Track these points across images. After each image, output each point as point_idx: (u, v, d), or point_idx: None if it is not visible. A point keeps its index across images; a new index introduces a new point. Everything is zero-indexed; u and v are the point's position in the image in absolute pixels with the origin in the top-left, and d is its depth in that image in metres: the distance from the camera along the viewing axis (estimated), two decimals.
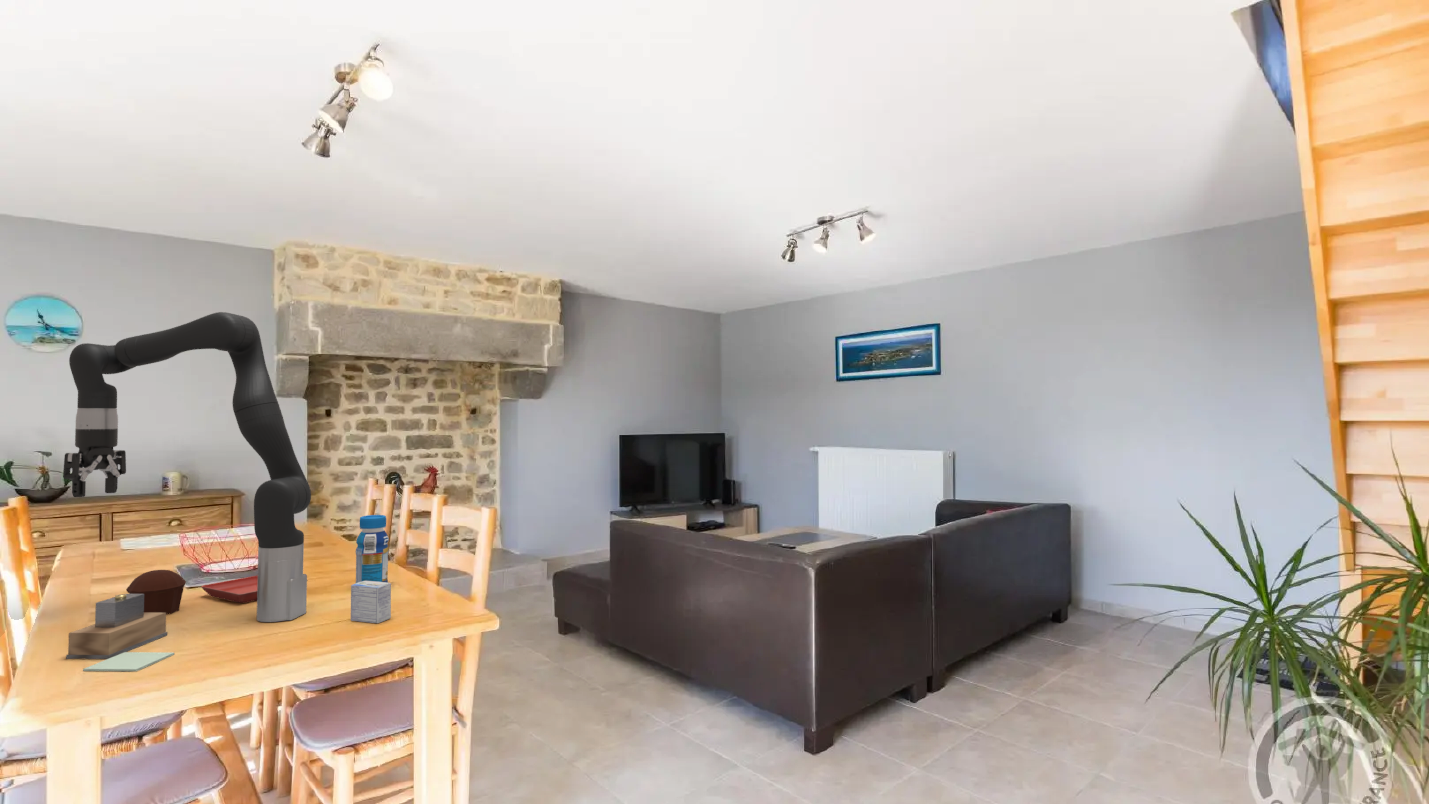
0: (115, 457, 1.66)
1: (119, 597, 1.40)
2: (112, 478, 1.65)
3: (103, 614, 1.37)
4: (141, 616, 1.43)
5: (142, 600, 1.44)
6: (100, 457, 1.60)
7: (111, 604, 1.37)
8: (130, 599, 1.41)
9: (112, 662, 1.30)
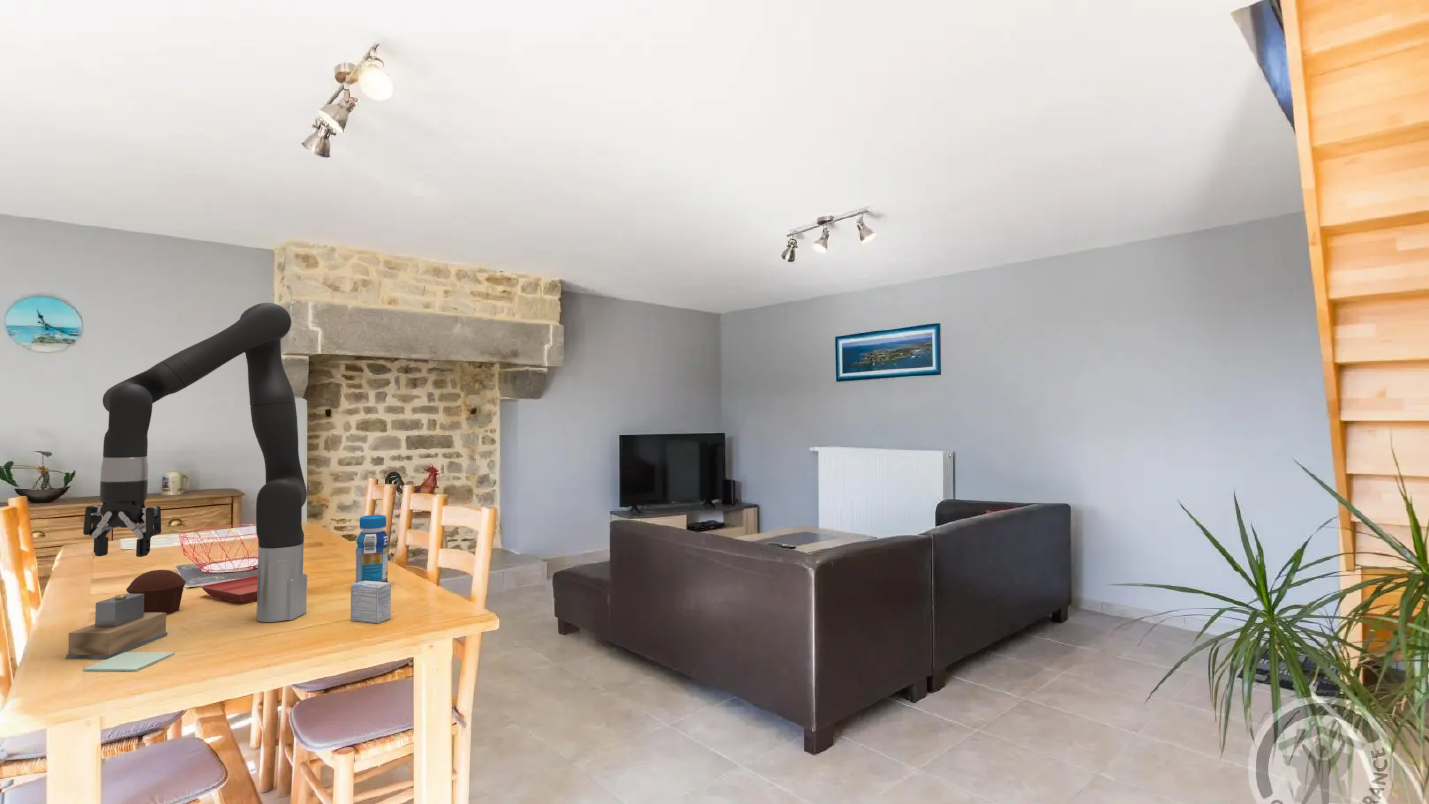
0: (100, 513, 1.41)
1: (119, 597, 1.40)
2: (105, 537, 1.42)
3: (103, 614, 1.37)
4: (141, 616, 1.43)
5: (142, 600, 1.44)
6: None
7: (111, 604, 1.37)
8: (130, 599, 1.41)
9: (112, 662, 1.30)
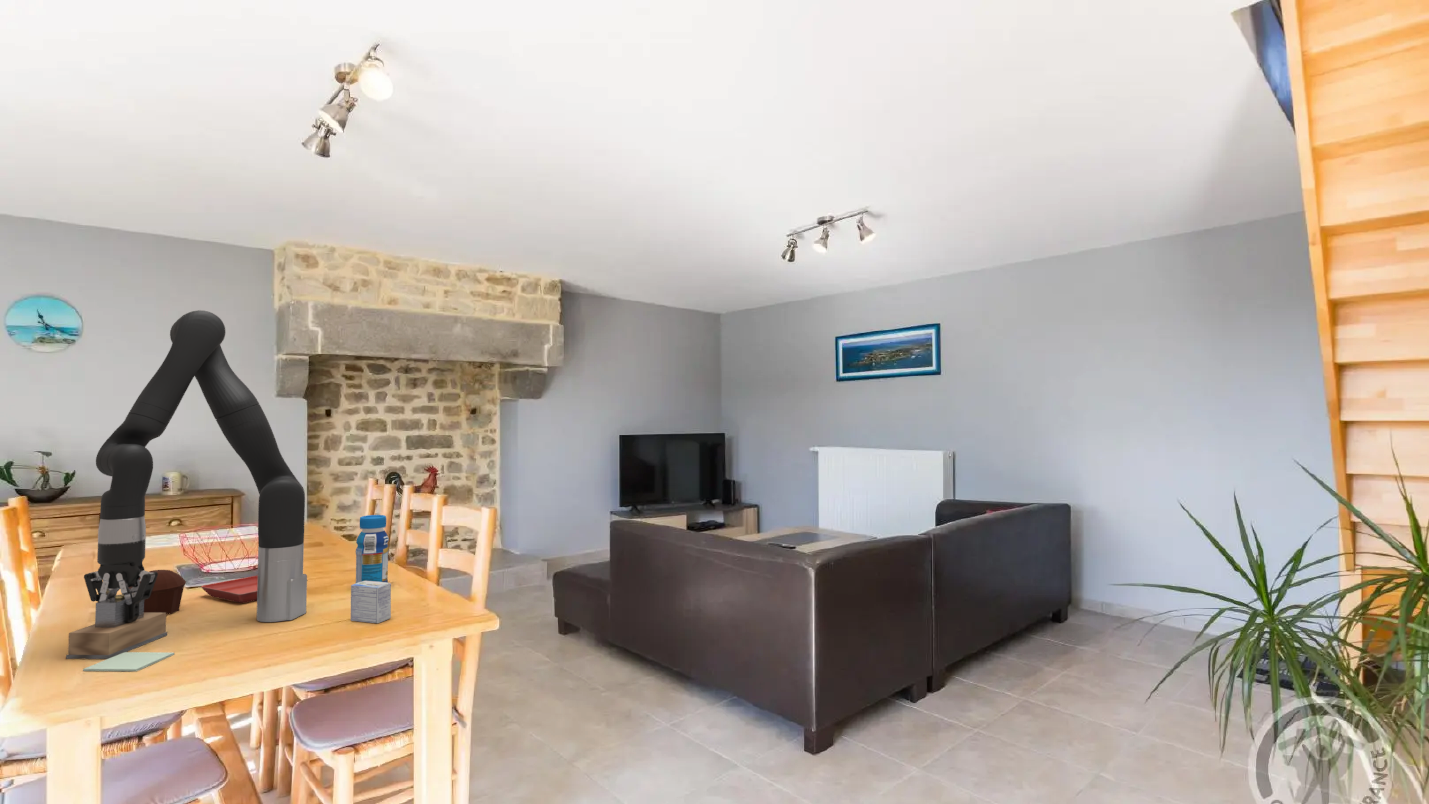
0: (100, 577, 1.41)
1: (119, 597, 1.40)
2: None
3: (103, 614, 1.37)
4: (141, 616, 1.43)
5: (142, 600, 1.44)
6: None
7: (111, 604, 1.37)
8: None
9: (112, 662, 1.30)
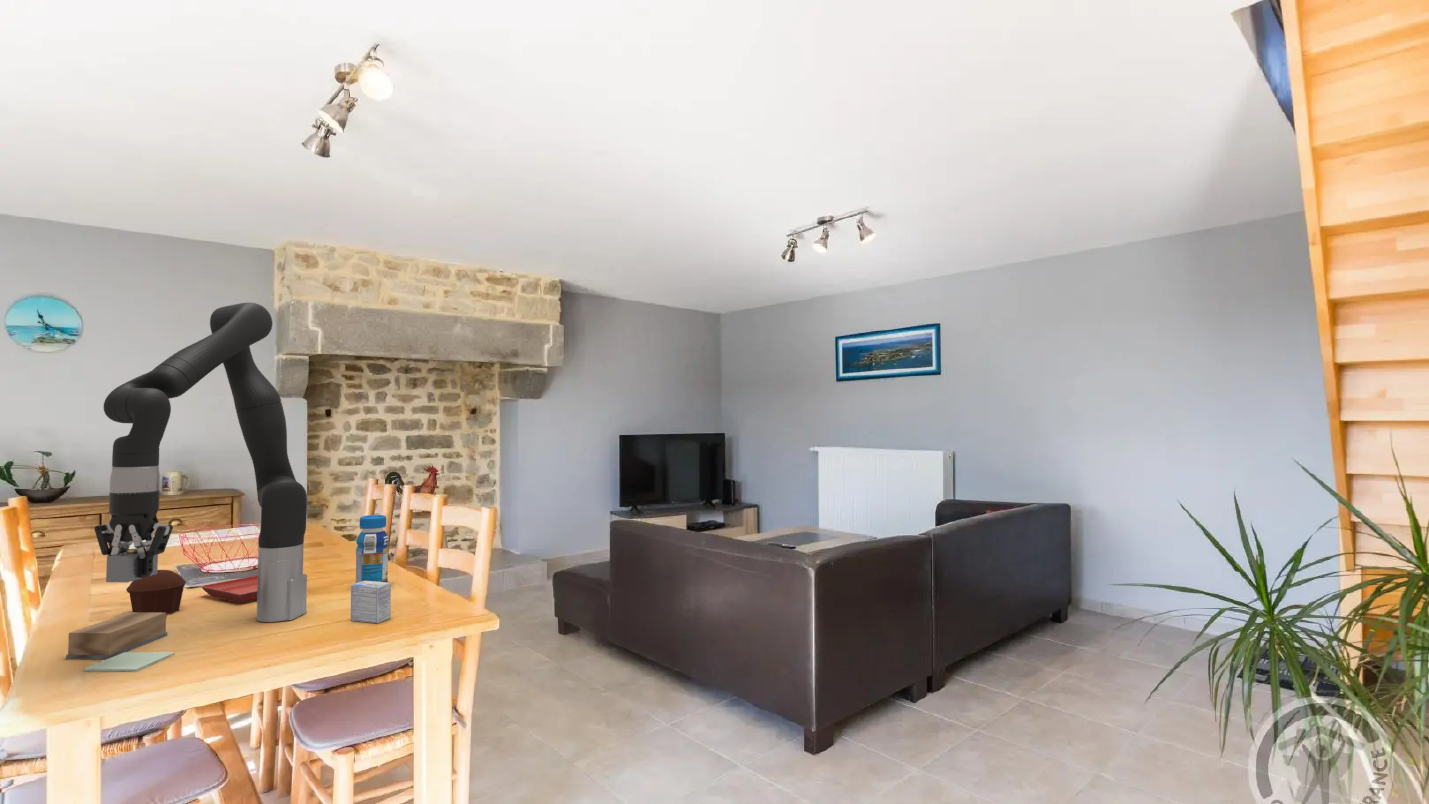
0: (112, 530, 1.32)
1: (132, 551, 1.31)
2: None
3: (115, 568, 1.28)
4: (155, 572, 1.35)
5: (156, 555, 1.35)
6: None
7: (123, 557, 1.28)
8: None
9: (112, 662, 1.30)
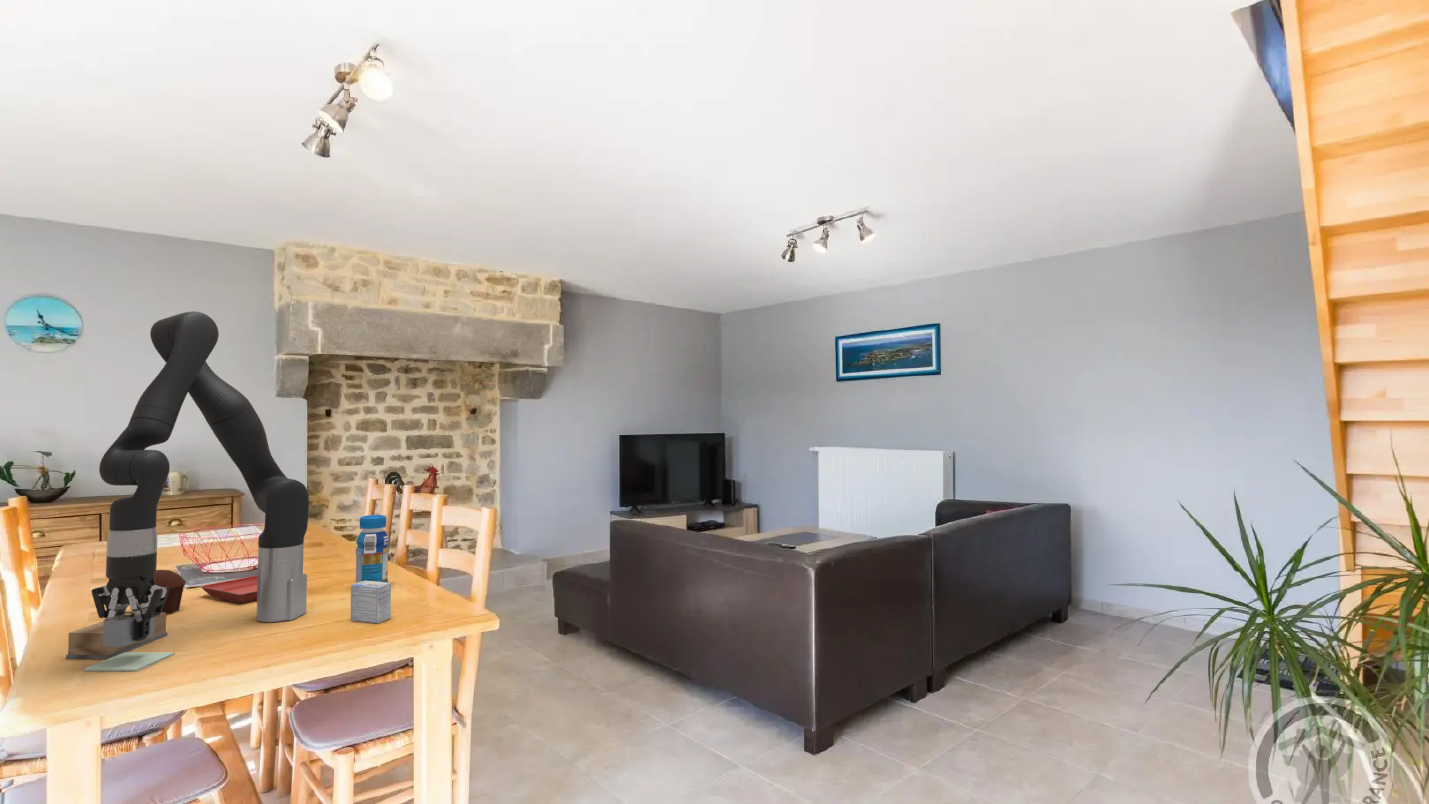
0: (109, 592, 1.32)
1: (128, 614, 1.31)
2: None
3: (112, 632, 1.28)
4: (151, 634, 1.34)
5: (153, 617, 1.35)
6: None
7: (120, 622, 1.28)
8: None
9: (112, 662, 1.30)
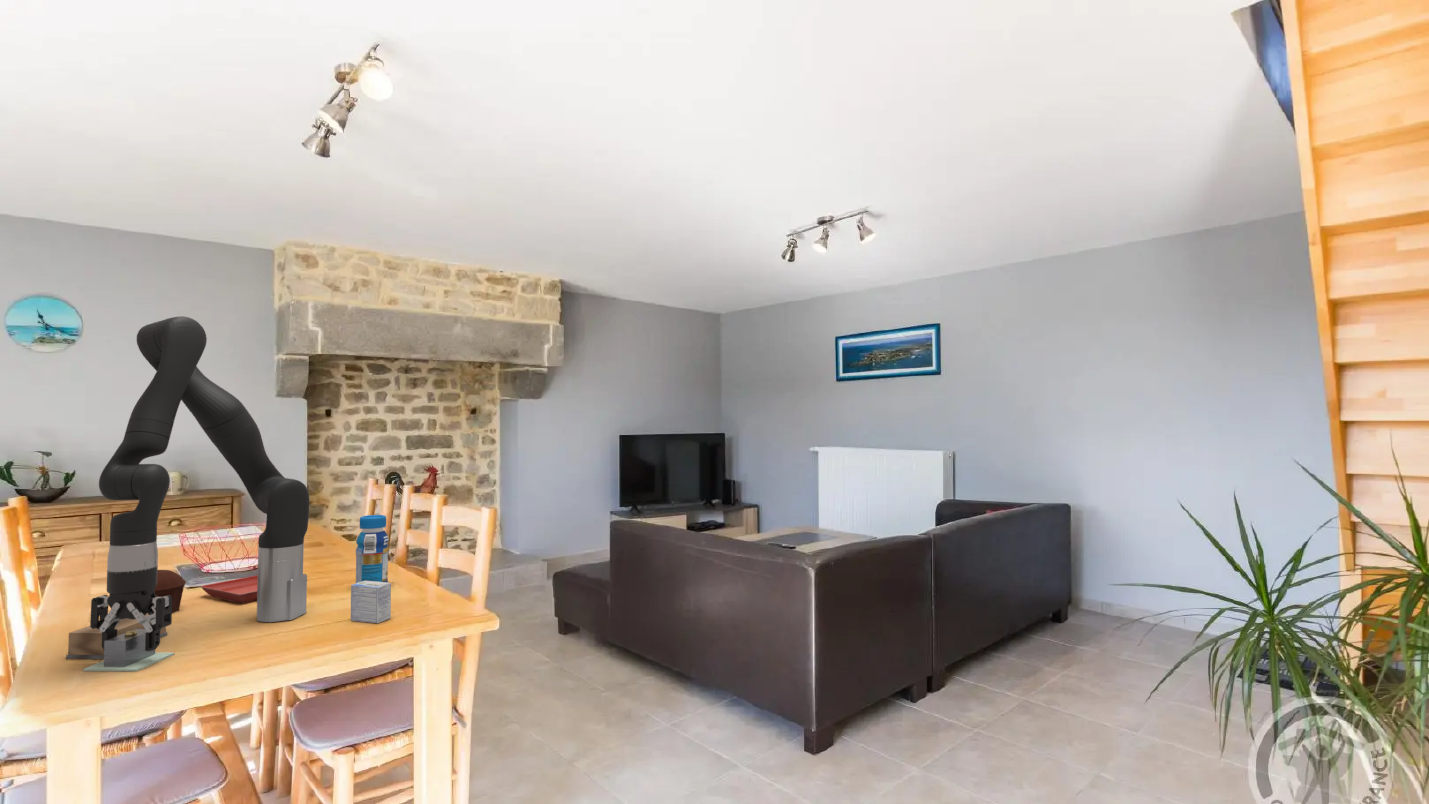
0: (107, 604, 1.32)
1: (129, 634, 1.31)
2: (114, 630, 1.32)
3: (113, 652, 1.28)
4: (152, 653, 1.34)
5: None
6: None
7: (121, 642, 1.28)
8: (141, 636, 1.32)
9: None
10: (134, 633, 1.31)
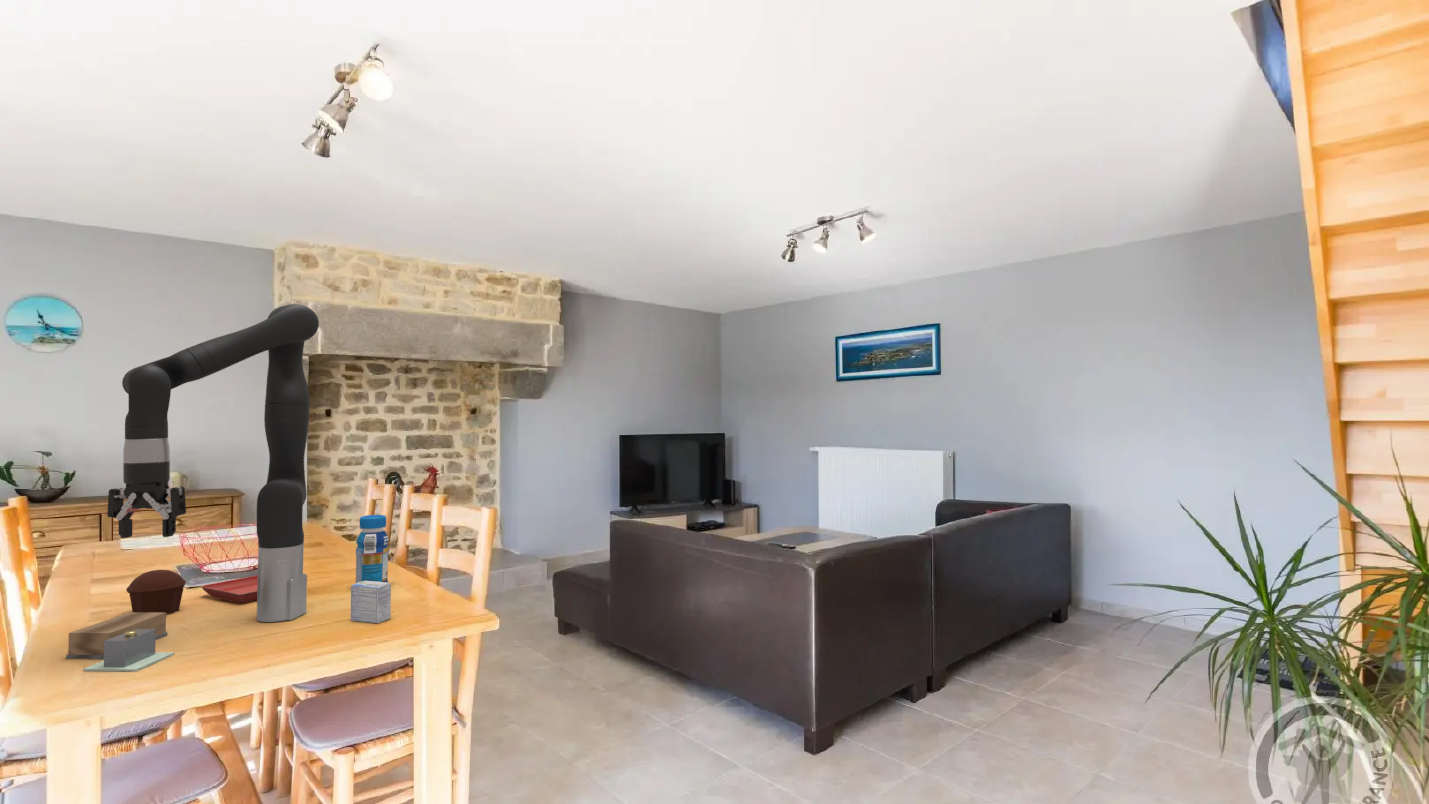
0: (123, 496, 1.42)
1: (129, 634, 1.31)
2: (129, 519, 1.42)
3: (113, 652, 1.28)
4: (152, 653, 1.34)
5: (153, 636, 1.35)
6: None
7: (121, 642, 1.28)
8: (141, 636, 1.32)
9: None
10: (134, 633, 1.31)
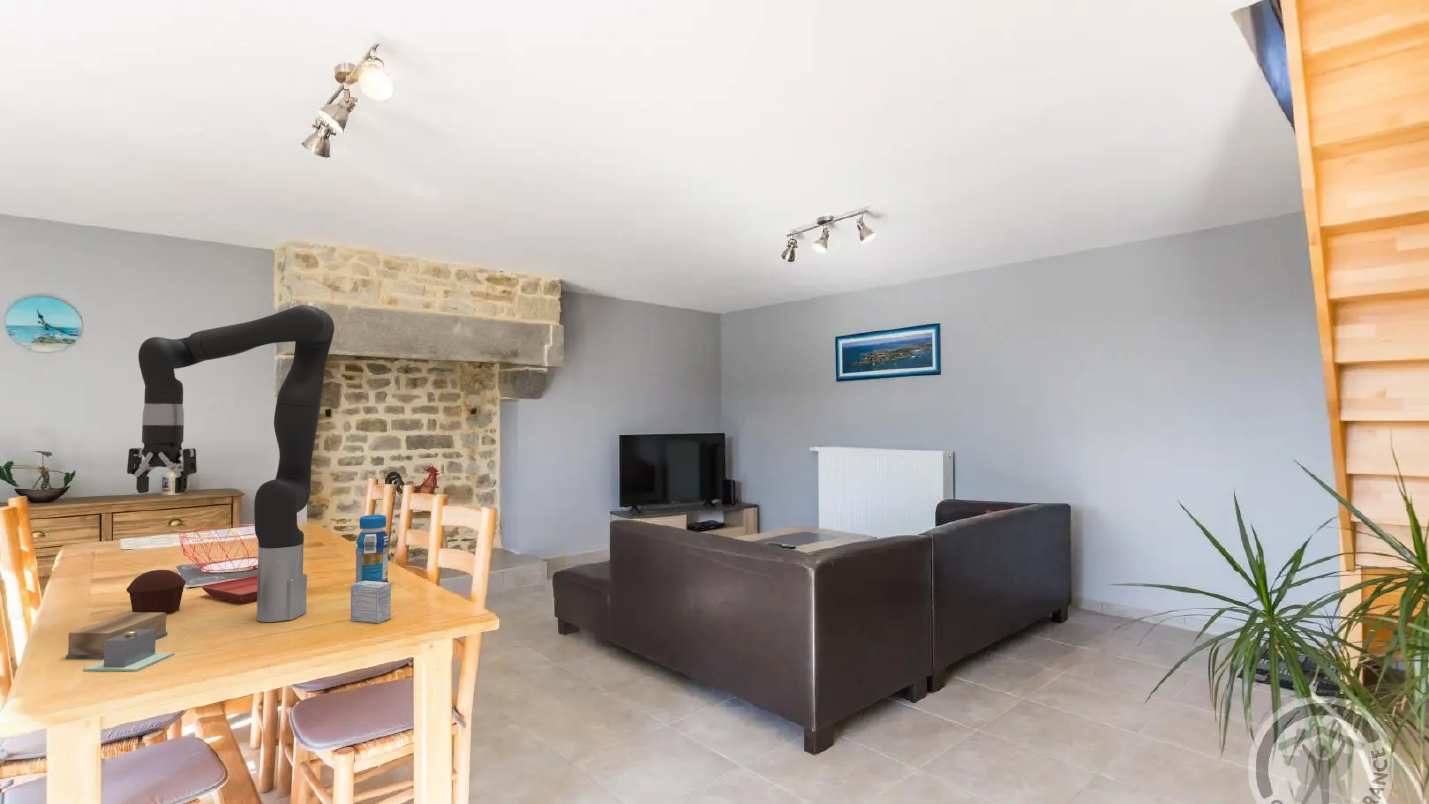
0: (142, 455, 1.57)
1: (129, 634, 1.31)
2: (146, 477, 1.58)
3: (113, 652, 1.28)
4: (152, 653, 1.34)
5: (153, 636, 1.35)
6: None
7: (121, 642, 1.28)
8: (141, 636, 1.32)
9: None
10: (134, 633, 1.31)
